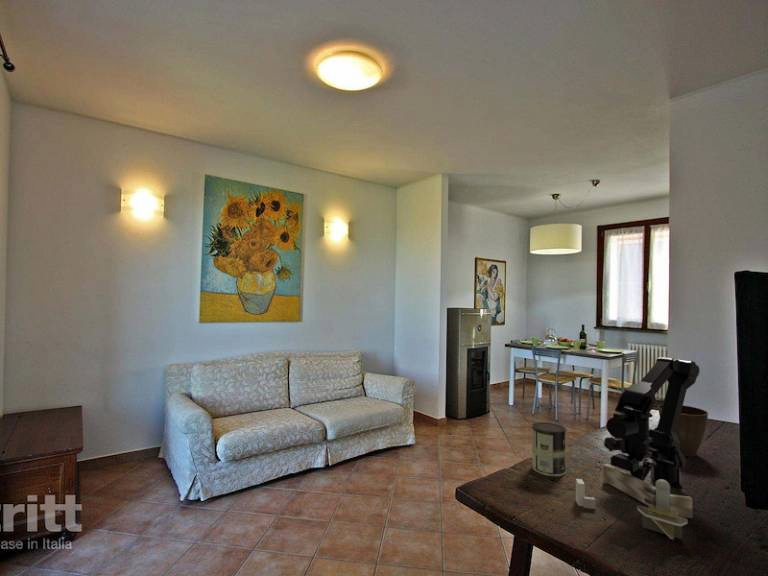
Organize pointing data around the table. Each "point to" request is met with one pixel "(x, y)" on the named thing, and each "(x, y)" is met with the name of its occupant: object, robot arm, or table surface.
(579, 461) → the table surface
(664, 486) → the hinge post
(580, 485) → the cream l-shaped block
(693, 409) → the plant pot
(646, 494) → the cream wooden bar
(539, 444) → the coffee can
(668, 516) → the platform
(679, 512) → the block
